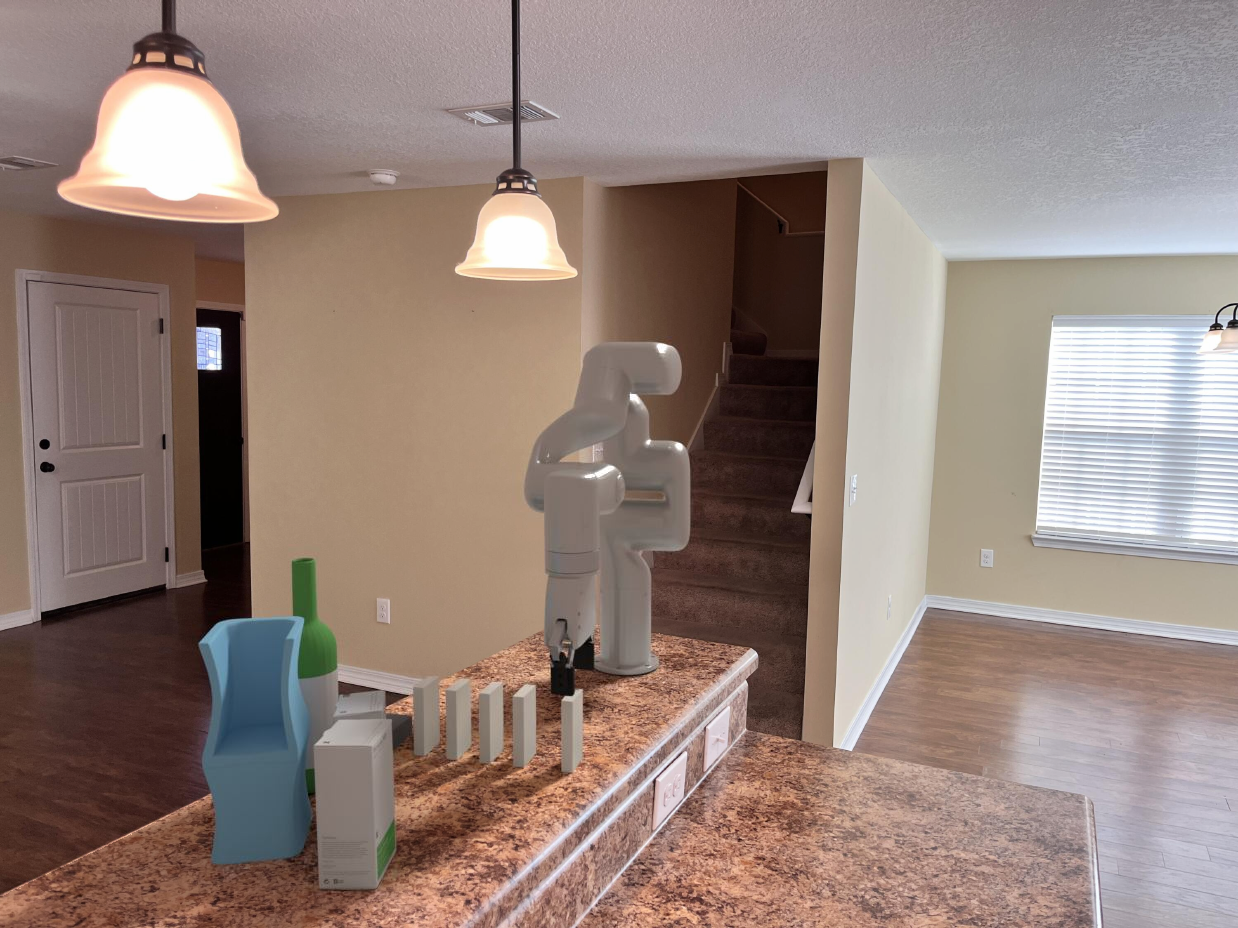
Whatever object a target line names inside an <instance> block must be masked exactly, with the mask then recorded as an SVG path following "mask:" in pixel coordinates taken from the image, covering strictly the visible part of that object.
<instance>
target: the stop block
mask: <svg viewBox="0 0 1238 928" xmlns="http://www.w3.org/2000/svg"><path fill="white" fill-rule="evenodd" d="M386 719H392V746H393V752H394V751H395V750H396V749H397V748H399V747H400V746H401V745H403V743H404V742H405V741H407V740H408V739H409V738H410V737H412V736H414V732H413V715H410V714H409V715H408V714H403V713H392V712H388V713H387V712H386Z"/></svg>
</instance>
